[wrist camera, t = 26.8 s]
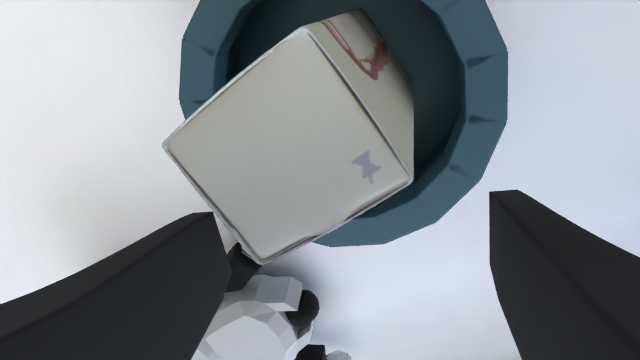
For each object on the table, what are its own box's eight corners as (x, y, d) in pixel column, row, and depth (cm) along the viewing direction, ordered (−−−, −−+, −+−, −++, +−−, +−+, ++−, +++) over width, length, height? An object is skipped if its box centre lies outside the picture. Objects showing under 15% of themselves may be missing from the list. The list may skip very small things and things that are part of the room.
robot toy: (272, 191, 23) (86, 277, 27) (252, 232, 19) (36, 325, 23) (365, 341, 27) (189, 396, 31) (364, 402, 23) (162, 456, 27)
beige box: (361, 2, 17) (315, 9, 8) (416, 89, 18) (431, 182, 9) (269, 74, 19) (149, 145, 10) (324, 148, 20) (259, 274, 11)
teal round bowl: (474, -93, 15) (509, -129, 11) (479, 176, 20) (506, 238, 15) (204, -30, 18) (133, -37, 13) (264, 195, 23) (227, 253, 18)
